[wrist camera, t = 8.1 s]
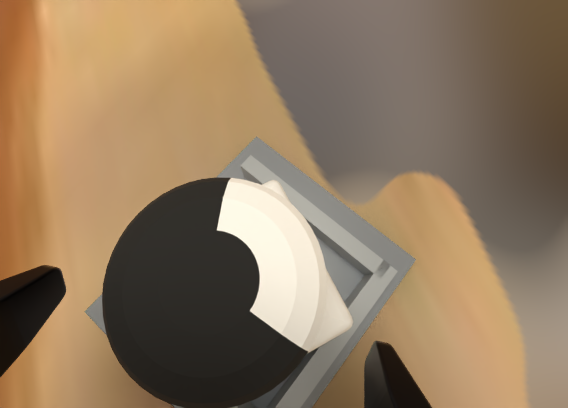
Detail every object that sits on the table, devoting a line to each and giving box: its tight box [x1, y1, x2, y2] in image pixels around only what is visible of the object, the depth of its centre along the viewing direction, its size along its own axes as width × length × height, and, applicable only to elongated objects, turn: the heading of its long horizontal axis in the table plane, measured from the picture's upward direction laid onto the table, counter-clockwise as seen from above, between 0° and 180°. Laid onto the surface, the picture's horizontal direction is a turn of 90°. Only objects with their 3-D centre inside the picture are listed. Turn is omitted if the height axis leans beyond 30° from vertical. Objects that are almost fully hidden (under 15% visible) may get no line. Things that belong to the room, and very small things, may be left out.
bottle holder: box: [85, 136, 416, 408], centre depth 18 cm, size 14×16×3 cm
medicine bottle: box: [102, 177, 353, 408], centre depth 13 cm, size 7×7×12 cm
